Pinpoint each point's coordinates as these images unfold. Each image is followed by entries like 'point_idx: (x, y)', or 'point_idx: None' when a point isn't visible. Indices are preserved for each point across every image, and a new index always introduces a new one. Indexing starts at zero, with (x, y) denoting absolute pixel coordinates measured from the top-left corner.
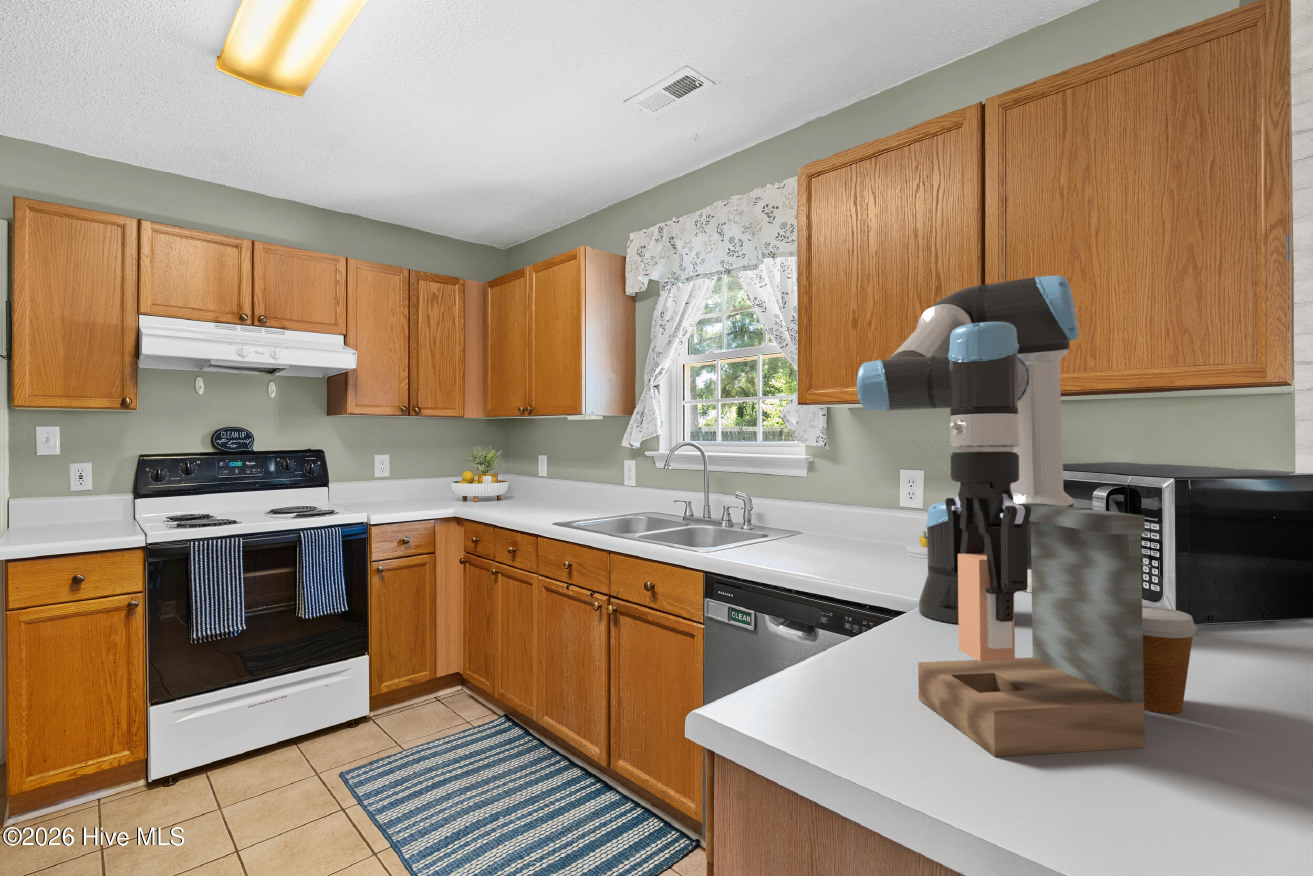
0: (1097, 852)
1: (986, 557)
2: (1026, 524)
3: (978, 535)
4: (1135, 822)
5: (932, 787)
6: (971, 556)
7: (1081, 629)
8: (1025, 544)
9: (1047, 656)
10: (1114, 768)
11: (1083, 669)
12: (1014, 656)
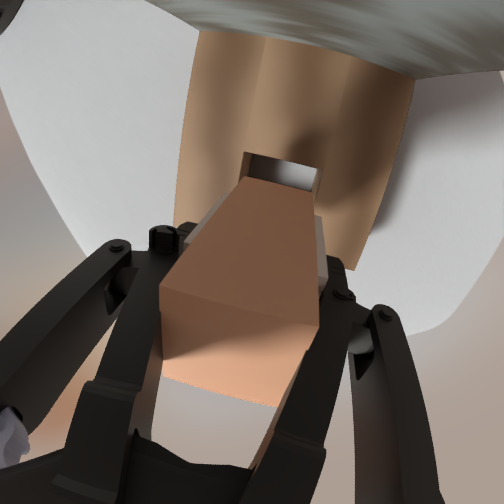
0: (458, 291)
1: (252, 373)
2: (437, 498)
3: (148, 399)
4: (463, 235)
5: None
6: (219, 386)
7: (327, 23)
8: (424, 430)
9: (234, 30)
10: (416, 153)
11: (325, 44)
12: (311, 194)
